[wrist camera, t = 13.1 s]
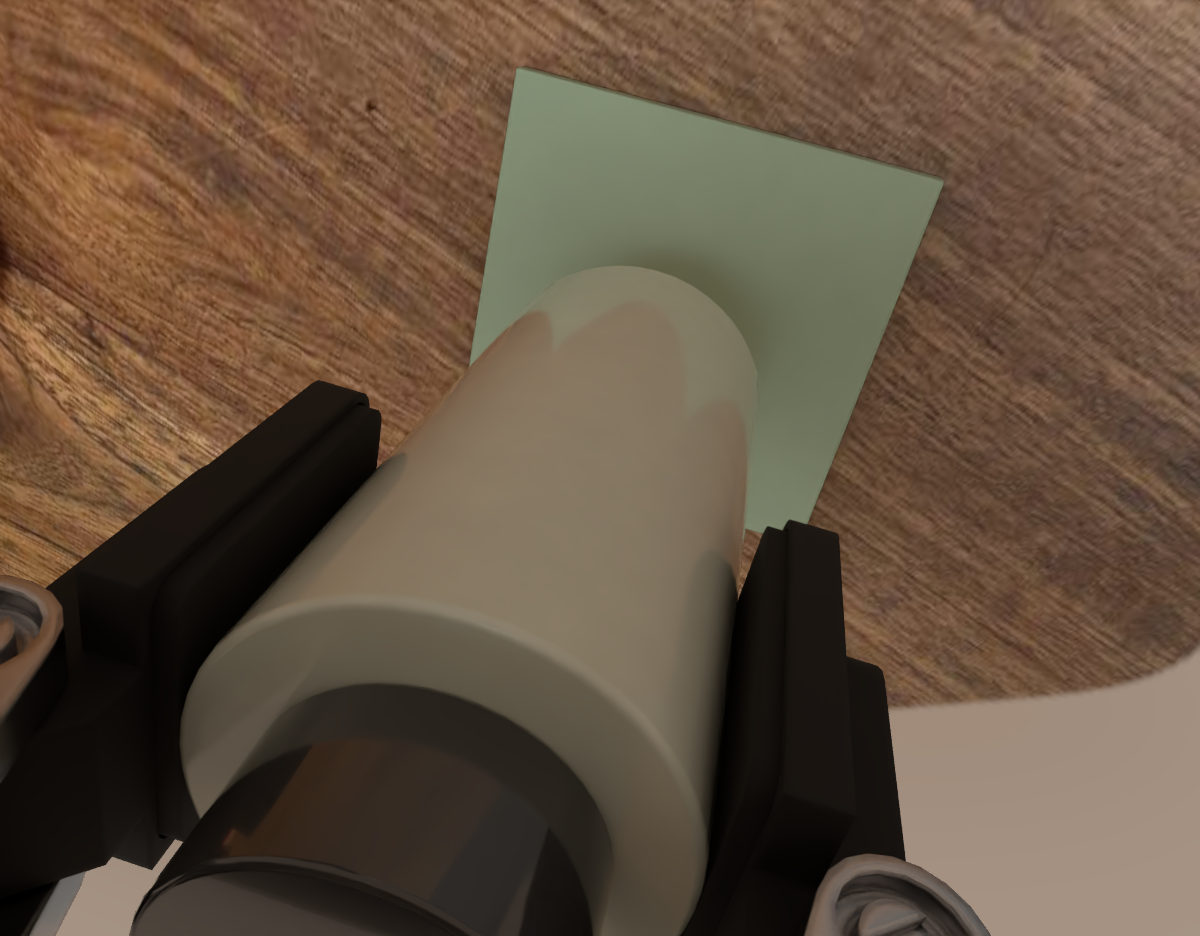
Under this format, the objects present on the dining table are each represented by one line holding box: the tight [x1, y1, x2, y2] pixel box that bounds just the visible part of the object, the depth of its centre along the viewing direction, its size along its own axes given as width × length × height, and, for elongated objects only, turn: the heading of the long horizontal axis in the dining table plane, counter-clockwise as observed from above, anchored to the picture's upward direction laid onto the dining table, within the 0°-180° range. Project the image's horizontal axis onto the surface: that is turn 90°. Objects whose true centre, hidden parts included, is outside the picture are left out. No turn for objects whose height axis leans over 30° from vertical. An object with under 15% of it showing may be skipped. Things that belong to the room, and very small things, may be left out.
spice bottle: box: [129, 266, 759, 936], centre depth 10 cm, size 4×4×11 cm
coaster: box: [469, 66, 944, 534], centre depth 18 cm, size 8×8×1 cm
